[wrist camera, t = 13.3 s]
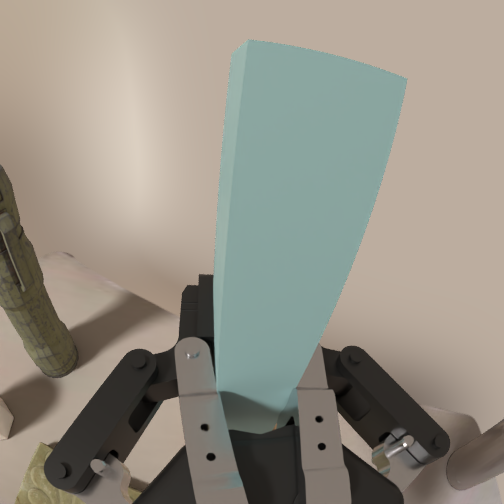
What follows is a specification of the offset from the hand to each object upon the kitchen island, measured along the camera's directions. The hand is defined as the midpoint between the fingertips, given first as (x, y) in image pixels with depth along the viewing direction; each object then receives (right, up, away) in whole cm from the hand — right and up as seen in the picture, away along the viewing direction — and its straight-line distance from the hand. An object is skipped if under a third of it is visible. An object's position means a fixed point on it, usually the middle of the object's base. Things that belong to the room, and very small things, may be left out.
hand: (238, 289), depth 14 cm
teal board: (-1, -12, +4) cm, 12 cm away
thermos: (-34, -17, +27) cm, 47 cm away
